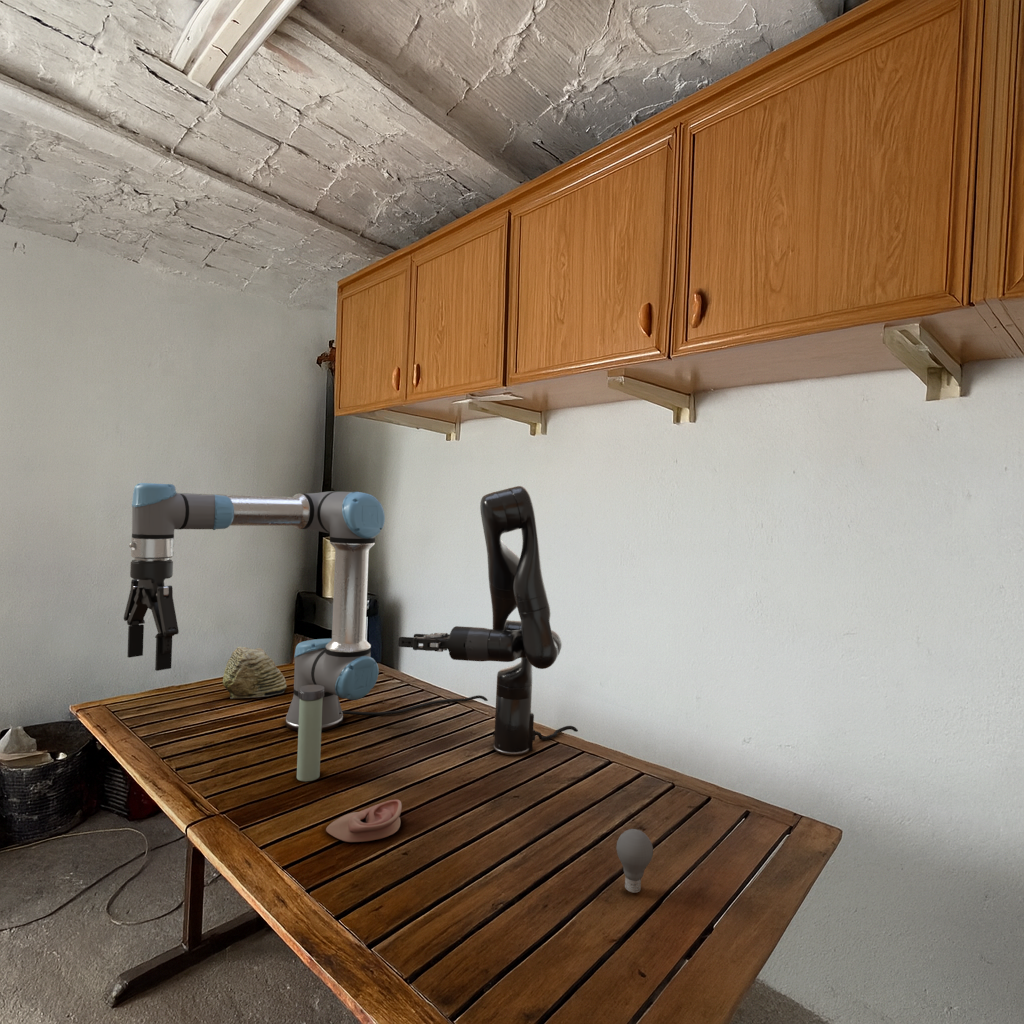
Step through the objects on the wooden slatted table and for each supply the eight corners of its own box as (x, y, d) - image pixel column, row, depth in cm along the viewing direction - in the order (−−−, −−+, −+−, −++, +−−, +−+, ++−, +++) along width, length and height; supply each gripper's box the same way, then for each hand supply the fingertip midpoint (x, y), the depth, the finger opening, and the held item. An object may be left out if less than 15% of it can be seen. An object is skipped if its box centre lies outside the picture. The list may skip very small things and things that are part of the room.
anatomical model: (318, 816, 117) (346, 789, 129) (317, 837, 118) (346, 808, 129) (385, 827, 115) (408, 798, 126) (384, 848, 115) (407, 818, 126)
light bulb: (610, 879, 108) (613, 822, 108) (644, 879, 109) (647, 822, 109) (619, 902, 102) (622, 840, 102) (655, 901, 103) (658, 840, 103)
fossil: (218, 695, 195) (220, 647, 195) (278, 685, 208) (279, 640, 207) (228, 703, 189) (230, 653, 188) (289, 692, 201) (290, 645, 201)
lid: (328, 697, 142) (328, 689, 142) (303, 702, 139) (304, 693, 139) (318, 691, 147) (318, 683, 147) (294, 695, 143) (294, 687, 143)
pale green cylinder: (323, 777, 143) (326, 691, 142) (301, 783, 140) (305, 694, 139) (314, 770, 147) (317, 685, 146) (293, 775, 143) (296, 689, 143)
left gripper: (108, 554, 134) (104, 654, 134) (159, 565, 118) (155, 678, 119) (146, 552, 140) (143, 648, 140) (199, 563, 124) (195, 671, 124)
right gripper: (482, 625, 151) (419, 621, 155) (463, 629, 137) (394, 625, 141) (481, 657, 150) (417, 653, 154) (462, 664, 136) (392, 660, 140)
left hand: (148, 662), depth 129 cm, fingers open, 13 cm apart
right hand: (406, 640), depth 148 cm, fingers open, 8 cm apart
